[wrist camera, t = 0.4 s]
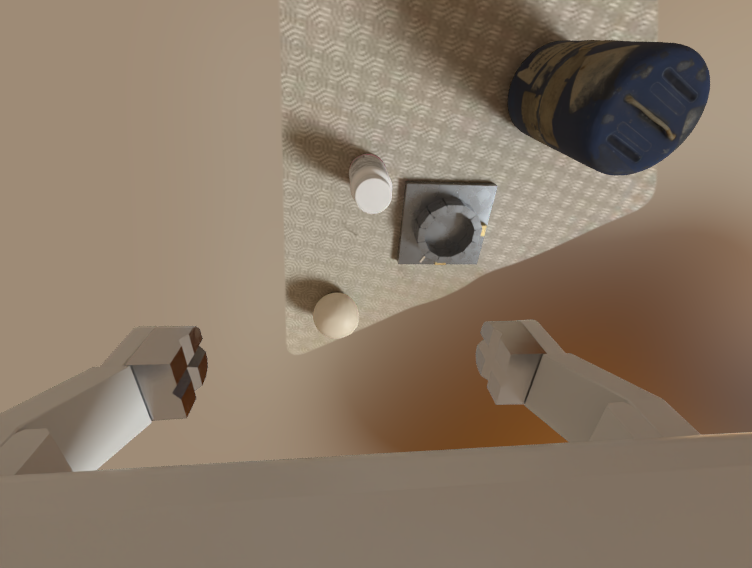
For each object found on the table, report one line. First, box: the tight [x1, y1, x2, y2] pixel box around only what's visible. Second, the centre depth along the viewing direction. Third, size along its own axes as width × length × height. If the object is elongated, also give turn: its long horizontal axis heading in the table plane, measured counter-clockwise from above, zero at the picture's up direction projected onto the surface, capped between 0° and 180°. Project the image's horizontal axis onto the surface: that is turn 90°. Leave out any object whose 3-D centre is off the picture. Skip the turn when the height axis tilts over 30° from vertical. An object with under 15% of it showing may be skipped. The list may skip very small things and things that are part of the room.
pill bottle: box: [349, 154, 392, 214], centre depth 40 cm, size 5×5×8 cm
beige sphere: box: [313, 293, 359, 339], centre depth 52 cm, size 7×7×7 cm
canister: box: [508, 40, 710, 175], centre depth 32 cm, size 10×10×18 cm
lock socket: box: [397, 181, 497, 265], centre depth 47 cm, size 12×12×4 cm
